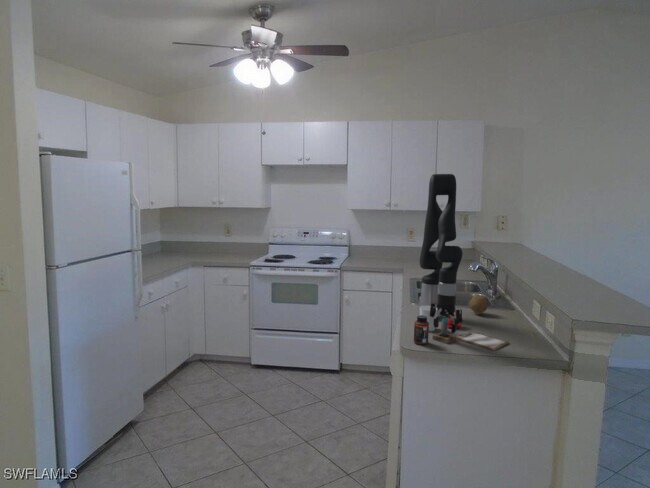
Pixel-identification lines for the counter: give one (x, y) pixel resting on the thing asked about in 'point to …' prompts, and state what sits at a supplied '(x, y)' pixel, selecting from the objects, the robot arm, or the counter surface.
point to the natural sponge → (478, 304)
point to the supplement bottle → (421, 330)
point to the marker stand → (444, 338)
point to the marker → (444, 327)
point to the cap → (451, 323)
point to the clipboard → (482, 340)
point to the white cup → (428, 316)
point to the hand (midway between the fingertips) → (444, 329)
